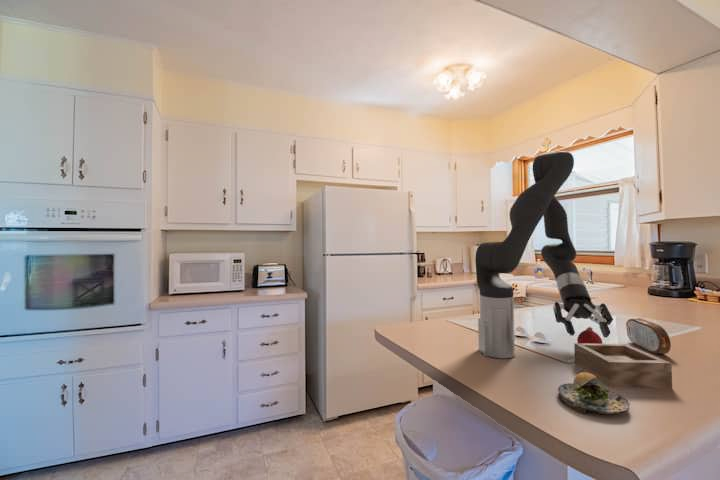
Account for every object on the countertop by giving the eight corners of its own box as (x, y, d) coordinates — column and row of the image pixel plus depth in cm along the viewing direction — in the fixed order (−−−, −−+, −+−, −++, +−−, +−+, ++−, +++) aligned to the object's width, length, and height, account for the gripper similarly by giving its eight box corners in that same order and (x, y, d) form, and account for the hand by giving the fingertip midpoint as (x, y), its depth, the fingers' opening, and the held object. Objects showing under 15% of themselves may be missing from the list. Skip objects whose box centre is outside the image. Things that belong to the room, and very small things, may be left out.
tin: (672, 358, 85) (671, 328, 85) (659, 357, 86) (658, 327, 86) (635, 341, 100) (634, 315, 100) (624, 340, 101) (623, 315, 101)
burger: (584, 421, 56) (583, 381, 57) (545, 391, 68) (544, 357, 68) (648, 421, 56) (647, 380, 57) (599, 390, 68) (598, 356, 68)
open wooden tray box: (610, 388, 69) (609, 362, 69) (574, 365, 82) (574, 343, 82) (672, 390, 68) (671, 363, 68) (626, 366, 81) (625, 343, 81)
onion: (595, 359, 85) (595, 331, 85) (573, 353, 90) (572, 326, 90) (606, 355, 88) (605, 328, 88) (584, 349, 93) (583, 323, 93)
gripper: (550, 282, 99) (565, 327, 88) (601, 283, 96) (623, 330, 84) (545, 296, 104) (558, 340, 93) (593, 297, 101) (613, 343, 89)
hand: (589, 335), depth 89 cm, fingers open, 8 cm apart
